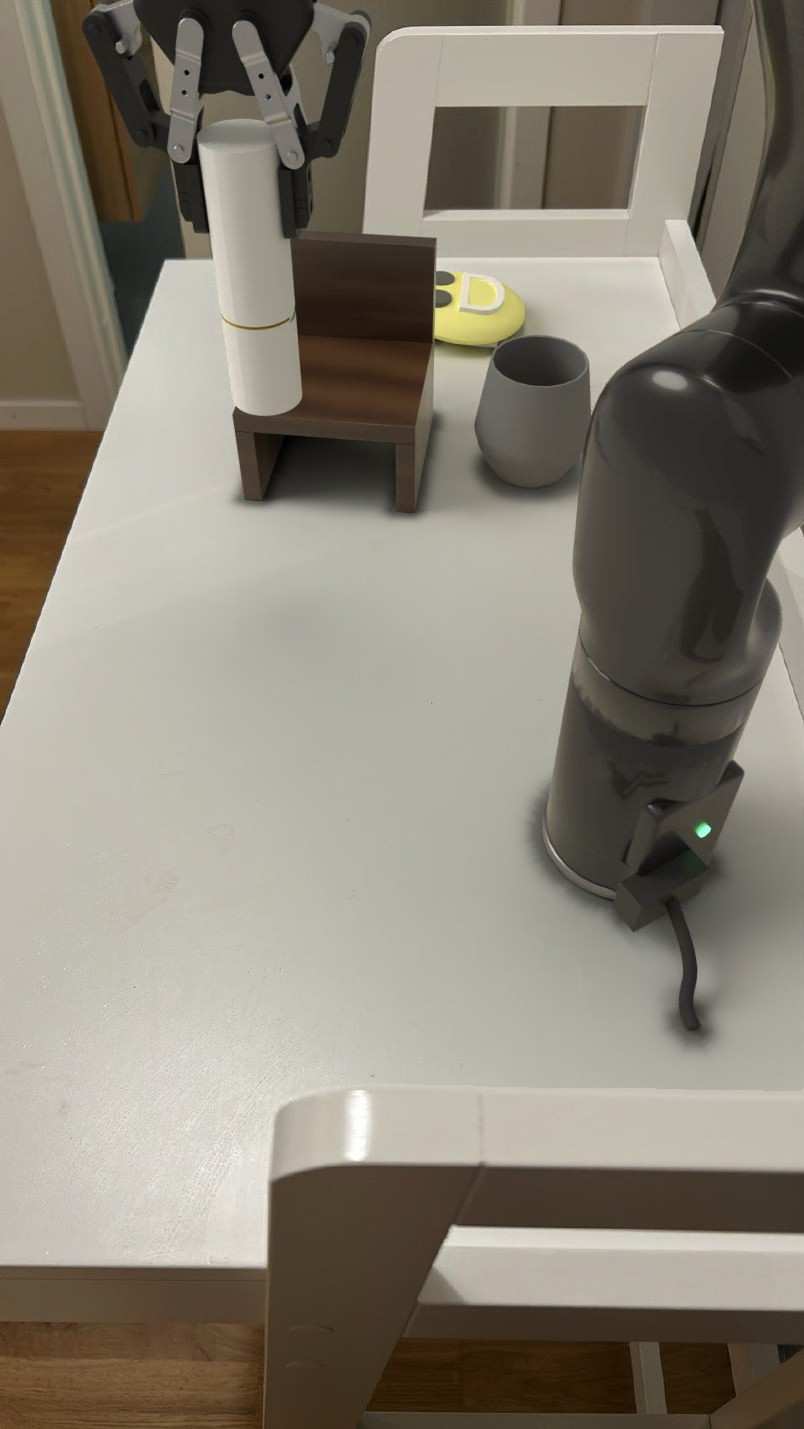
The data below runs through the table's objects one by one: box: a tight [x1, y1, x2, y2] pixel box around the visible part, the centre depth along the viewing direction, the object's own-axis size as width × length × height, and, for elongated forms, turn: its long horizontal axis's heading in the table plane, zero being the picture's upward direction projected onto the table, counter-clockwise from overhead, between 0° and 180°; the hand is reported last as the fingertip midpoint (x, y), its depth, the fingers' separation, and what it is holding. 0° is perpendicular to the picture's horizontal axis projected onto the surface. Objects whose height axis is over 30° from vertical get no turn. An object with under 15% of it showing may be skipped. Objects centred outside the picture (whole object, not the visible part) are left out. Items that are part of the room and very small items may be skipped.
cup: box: [473, 334, 592, 489], centre depth 84 cm, size 10×9×10 cm
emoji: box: [435, 270, 526, 349], centre depth 101 cm, size 4×12×12 cm
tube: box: [197, 118, 302, 416], centre depth 59 cm, size 4×4×15 cm
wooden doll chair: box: [231, 229, 438, 513], centre depth 83 cm, size 14×14×16 cm
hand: (249, 228), depth 57 cm, fingers closed on tube, 4 cm apart
